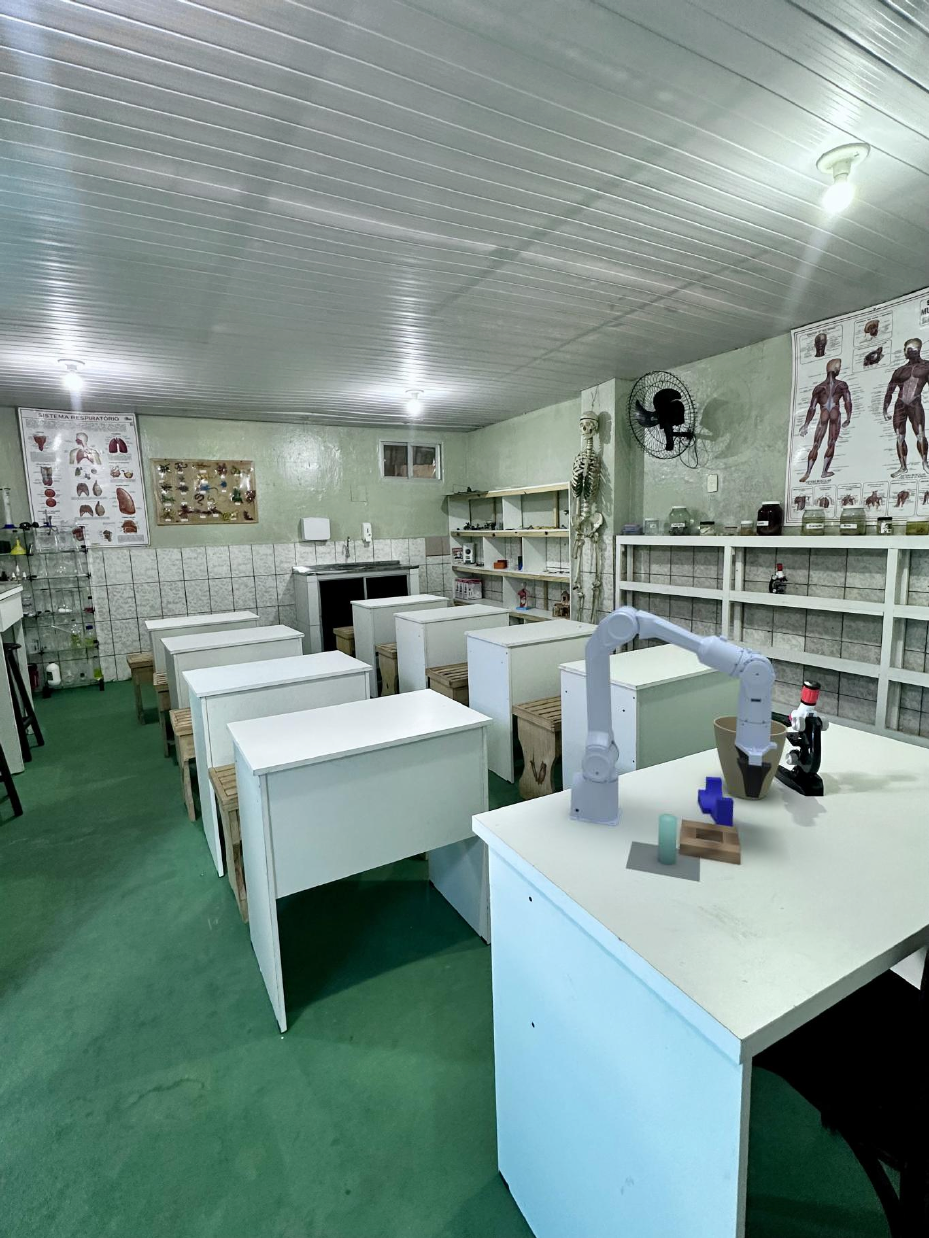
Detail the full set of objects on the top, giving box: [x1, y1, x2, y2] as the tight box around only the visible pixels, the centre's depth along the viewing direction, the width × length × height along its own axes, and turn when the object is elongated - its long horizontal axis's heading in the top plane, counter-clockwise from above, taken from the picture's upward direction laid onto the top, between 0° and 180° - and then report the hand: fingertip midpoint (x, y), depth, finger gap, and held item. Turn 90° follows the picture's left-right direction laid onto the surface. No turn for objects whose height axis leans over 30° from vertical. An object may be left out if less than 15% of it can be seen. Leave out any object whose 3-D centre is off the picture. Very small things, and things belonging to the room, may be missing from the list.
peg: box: [657, 813, 678, 865], centre depth 105 cm, size 3×3×8 cm
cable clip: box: [697, 776, 735, 827], centre depth 123 cm, size 12×4×6 cm, turn 168°
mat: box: [625, 840, 701, 883], centre depth 106 cm, size 12×10×1 cm
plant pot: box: [713, 715, 789, 800], centre depth 133 cm, size 15×15×16 cm
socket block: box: [679, 819, 742, 866], centre depth 110 cm, size 10×10×2 cm
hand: (750, 788), depth 112 cm, fingers open, 7 cm apart
